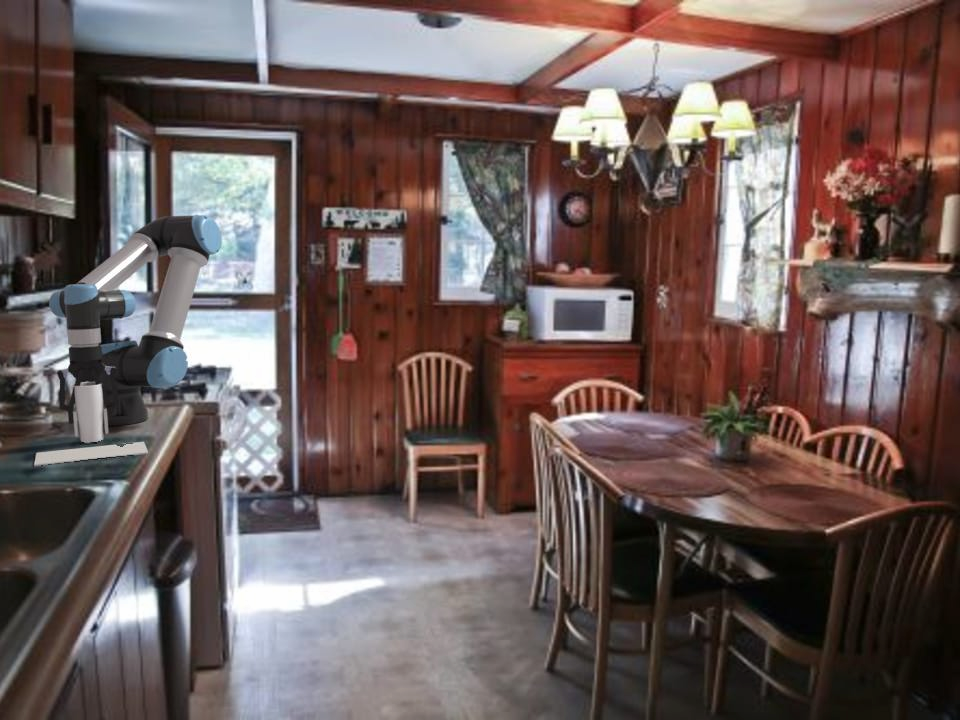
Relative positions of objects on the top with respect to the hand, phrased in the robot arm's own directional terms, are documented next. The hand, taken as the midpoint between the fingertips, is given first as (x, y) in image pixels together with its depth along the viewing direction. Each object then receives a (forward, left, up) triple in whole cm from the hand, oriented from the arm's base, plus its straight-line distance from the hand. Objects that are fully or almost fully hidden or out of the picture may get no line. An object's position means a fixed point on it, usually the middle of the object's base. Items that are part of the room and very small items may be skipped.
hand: (91, 434), depth 203 cm
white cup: (0, 0, -2) cm, 2 cm away
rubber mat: (+10, +11, -2) cm, 15 cm away
